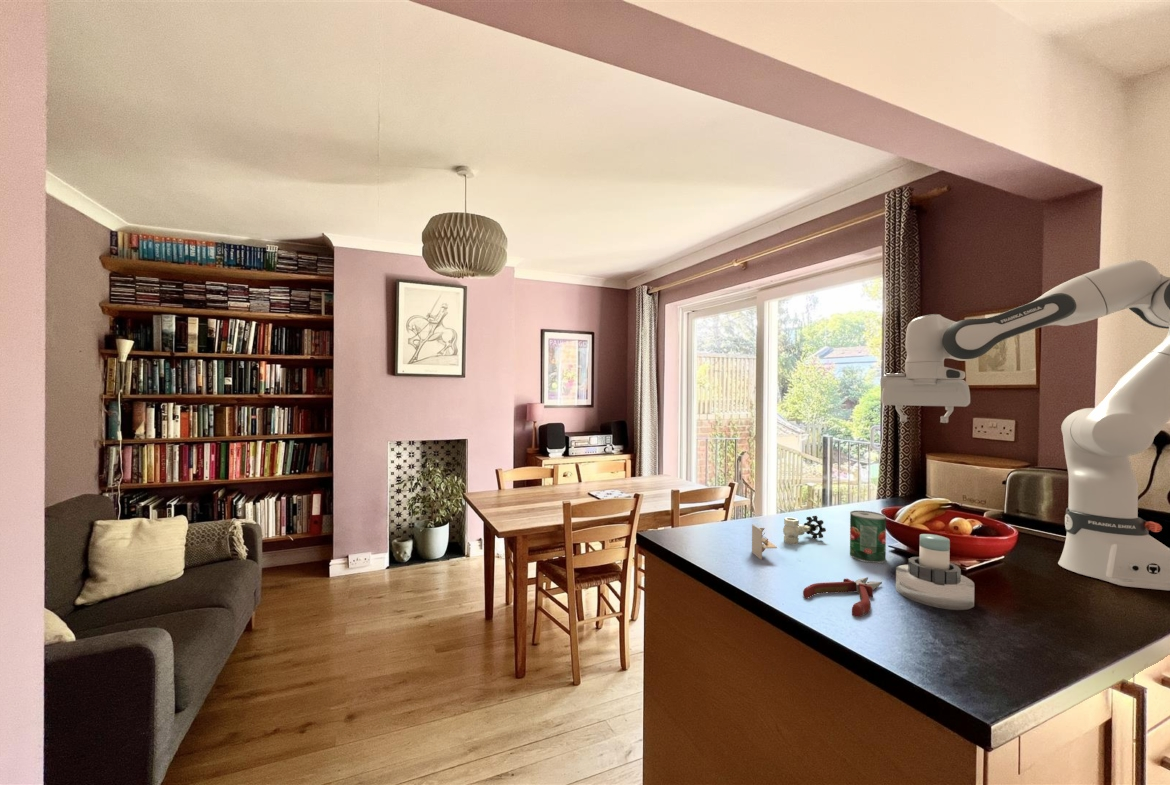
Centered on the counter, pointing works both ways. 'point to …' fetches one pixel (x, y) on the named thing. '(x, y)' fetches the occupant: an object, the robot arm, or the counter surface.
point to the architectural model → (759, 542)
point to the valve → (801, 529)
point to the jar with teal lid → (934, 551)
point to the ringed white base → (935, 585)
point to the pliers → (847, 586)
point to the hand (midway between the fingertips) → (923, 422)
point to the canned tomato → (868, 536)
